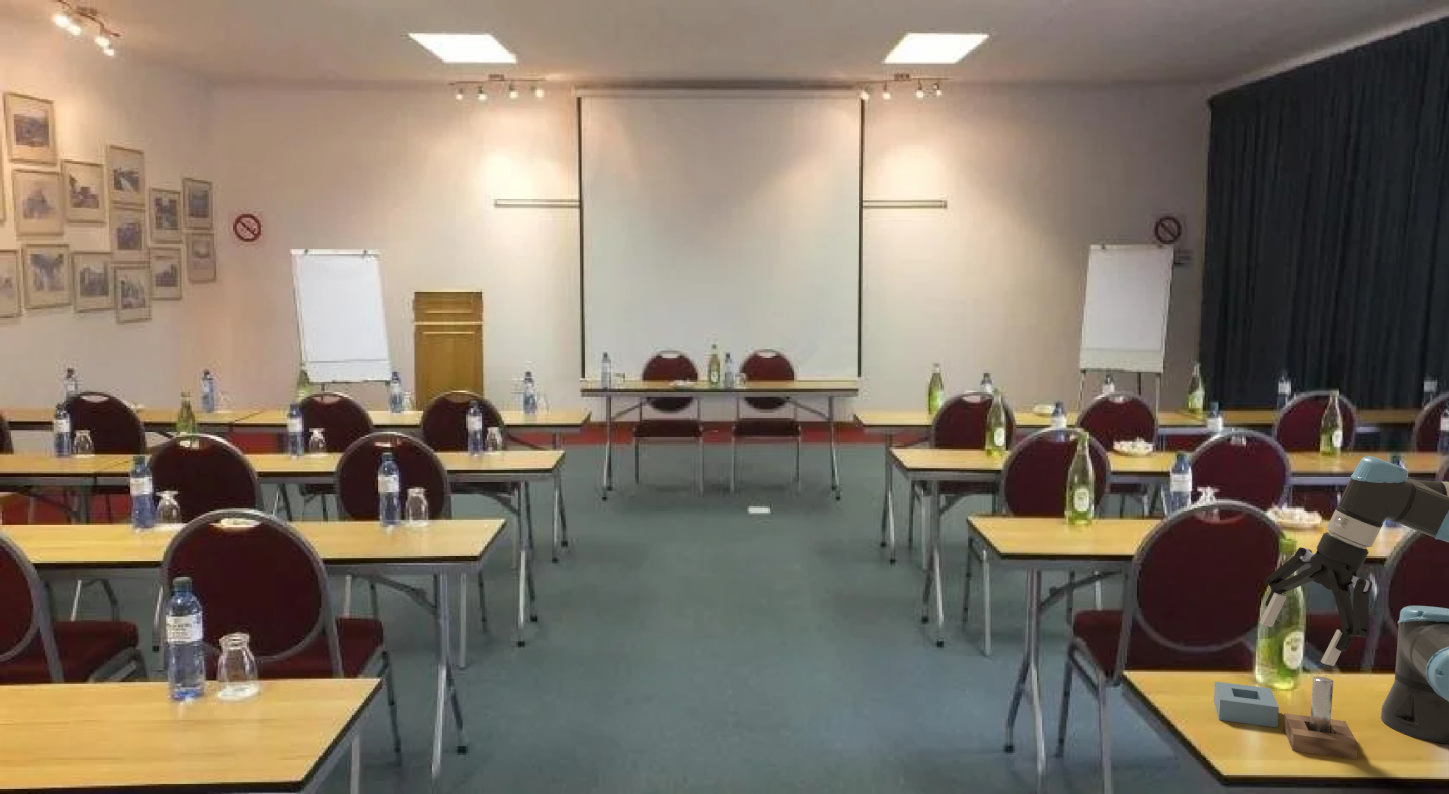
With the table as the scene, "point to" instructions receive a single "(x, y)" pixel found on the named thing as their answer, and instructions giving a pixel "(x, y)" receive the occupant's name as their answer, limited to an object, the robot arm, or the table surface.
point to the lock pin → (1321, 704)
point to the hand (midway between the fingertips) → (1295, 644)
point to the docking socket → (1246, 704)
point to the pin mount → (1320, 737)
